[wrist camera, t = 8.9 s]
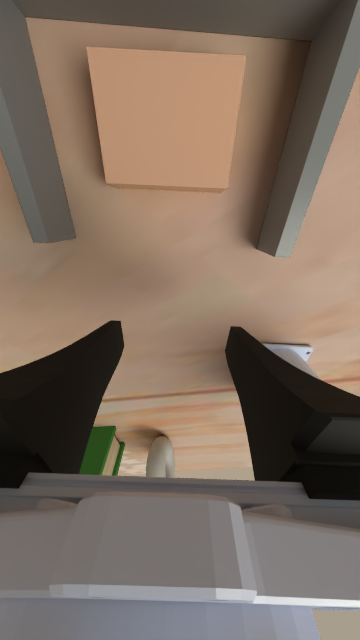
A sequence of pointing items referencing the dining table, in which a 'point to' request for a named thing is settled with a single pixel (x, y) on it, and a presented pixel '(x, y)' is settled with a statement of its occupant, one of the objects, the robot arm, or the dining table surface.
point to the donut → (161, 459)
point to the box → (192, 15)
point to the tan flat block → (166, 117)
